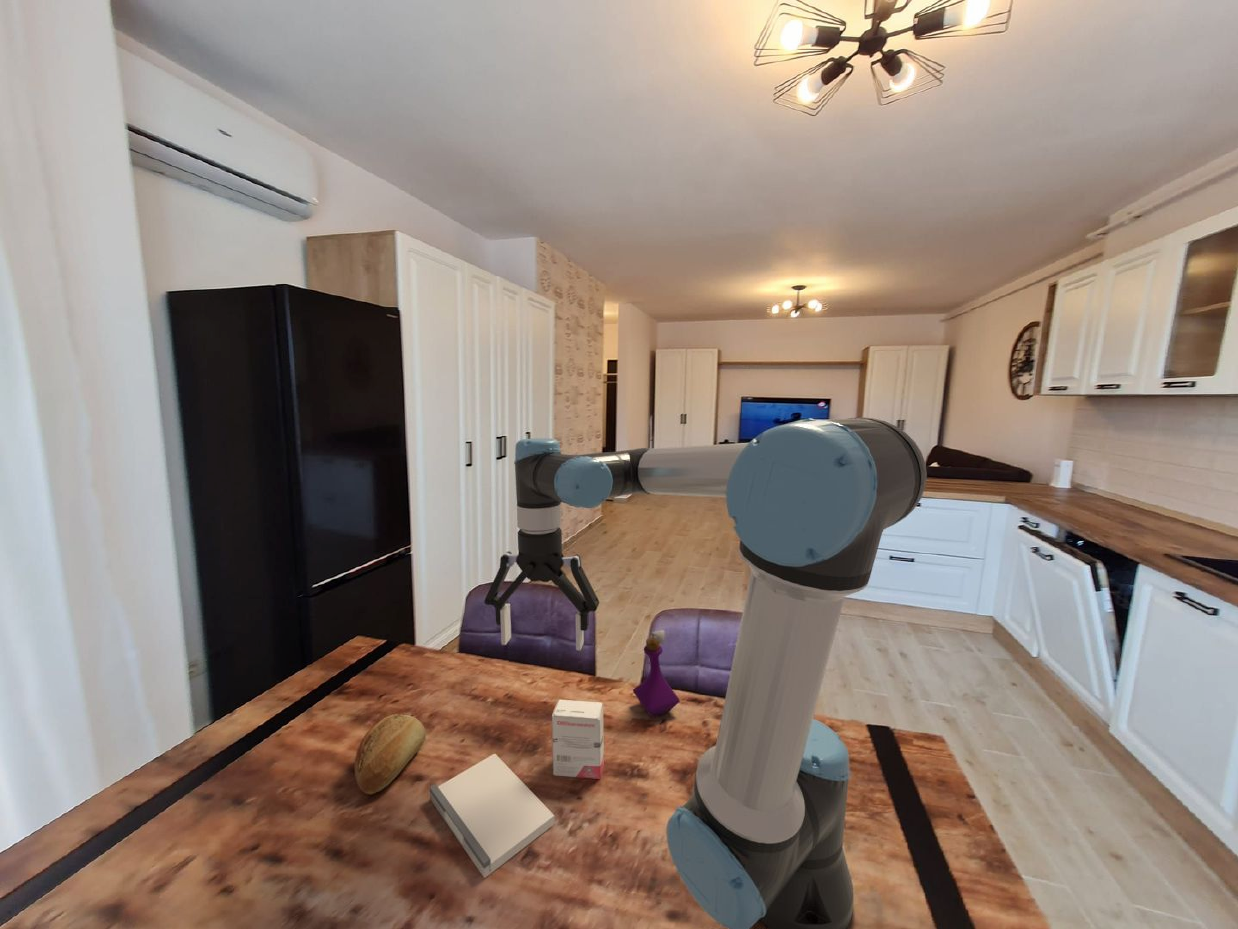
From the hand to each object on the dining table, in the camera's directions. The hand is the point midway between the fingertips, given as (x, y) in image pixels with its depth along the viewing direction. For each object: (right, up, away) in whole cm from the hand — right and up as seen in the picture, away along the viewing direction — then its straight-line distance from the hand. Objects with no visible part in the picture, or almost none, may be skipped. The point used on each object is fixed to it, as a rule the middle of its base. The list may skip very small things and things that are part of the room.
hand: (542, 644), depth 84 cm
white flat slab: (-7, -24, -8) cm, 26 cm away
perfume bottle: (+21, -21, +17) cm, 34 cm away
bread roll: (-27, -23, +1) cm, 36 cm away
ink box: (+6, -23, +1) cm, 24 cm away
